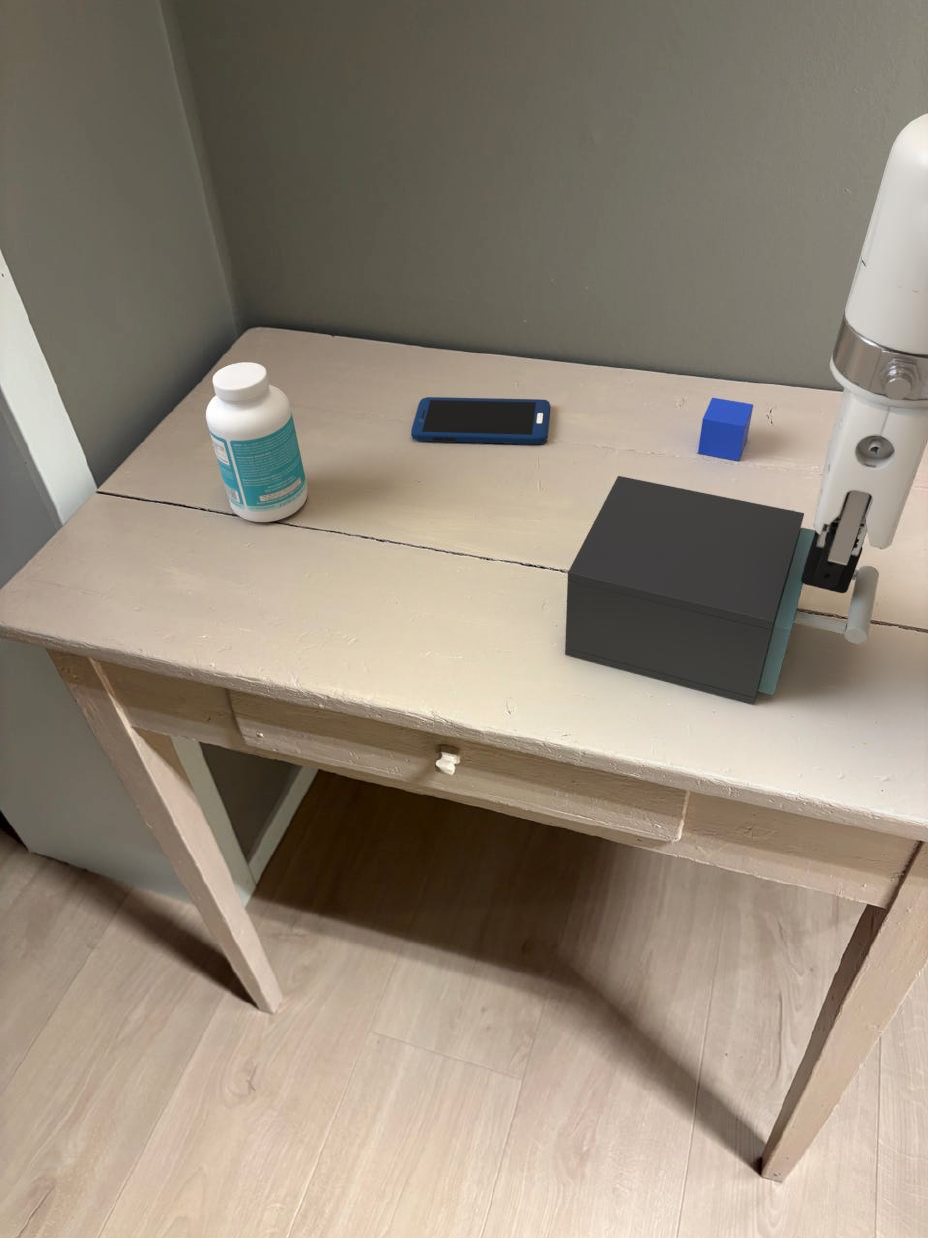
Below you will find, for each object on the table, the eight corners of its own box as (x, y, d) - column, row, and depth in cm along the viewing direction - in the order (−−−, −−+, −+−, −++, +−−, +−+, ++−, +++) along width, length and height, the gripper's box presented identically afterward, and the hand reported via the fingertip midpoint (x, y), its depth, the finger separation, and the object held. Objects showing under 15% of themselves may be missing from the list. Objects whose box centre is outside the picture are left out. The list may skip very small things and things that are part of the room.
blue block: (747, 439, 95) (753, 404, 92) (738, 461, 92) (745, 425, 90) (706, 432, 96) (712, 397, 93) (697, 453, 94) (702, 418, 91)
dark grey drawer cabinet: (783, 596, 79) (804, 512, 73) (753, 705, 70) (774, 621, 64) (611, 556, 83) (618, 475, 77) (564, 655, 75) (567, 572, 69)
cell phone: (547, 444, 96) (547, 438, 95) (409, 441, 97) (409, 434, 97) (551, 405, 101) (551, 399, 100) (420, 402, 103) (420, 396, 102)
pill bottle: (322, 485, 93) (298, 359, 83) (287, 532, 88) (258, 403, 78) (253, 473, 95) (223, 349, 85) (216, 518, 90) (179, 391, 80)
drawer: (864, 610, 76) (886, 544, 71) (844, 714, 68) (867, 647, 64) (636, 558, 81) (643, 494, 77) (595, 649, 74) (600, 583, 69)
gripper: (966, 434, 50) (866, 669, 63) (978, 303, 59) (889, 530, 72) (817, 405, 52) (751, 638, 65) (852, 283, 61) (788, 507, 74)
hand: (824, 580), depth 69 cm, fingers closed
